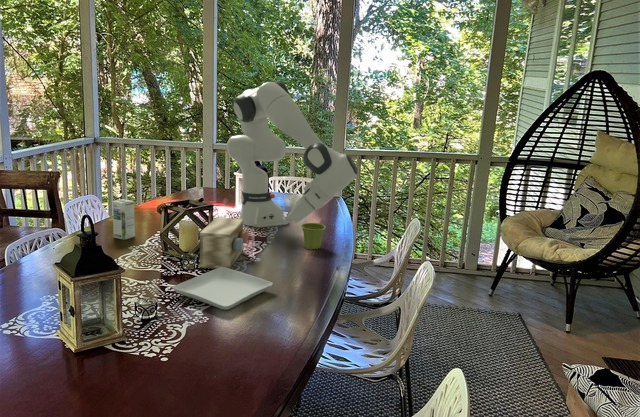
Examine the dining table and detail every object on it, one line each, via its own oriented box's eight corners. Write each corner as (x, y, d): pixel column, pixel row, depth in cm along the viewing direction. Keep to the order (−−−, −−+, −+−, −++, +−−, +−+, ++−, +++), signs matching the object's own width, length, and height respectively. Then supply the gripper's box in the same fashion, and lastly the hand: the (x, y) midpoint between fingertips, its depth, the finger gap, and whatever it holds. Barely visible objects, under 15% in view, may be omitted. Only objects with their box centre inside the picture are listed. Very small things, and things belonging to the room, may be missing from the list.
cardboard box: (199, 267, 162) (199, 232, 159) (216, 248, 182) (216, 217, 179) (229, 269, 162) (229, 234, 159) (242, 250, 181) (243, 219, 178)
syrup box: (113, 237, 187) (111, 201, 184) (125, 234, 193) (123, 198, 189) (123, 240, 185) (122, 203, 182) (135, 236, 190) (134, 200, 187)
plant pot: (327, 246, 192) (329, 224, 190) (319, 252, 184) (321, 230, 182) (305, 242, 195) (306, 221, 193) (296, 249, 187) (297, 227, 185)
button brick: (227, 243, 173) (227, 231, 172) (230, 240, 177) (230, 228, 176) (245, 245, 172) (245, 233, 171) (248, 241, 177) (248, 229, 176)
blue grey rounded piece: (220, 251, 164) (220, 239, 163) (223, 247, 168) (223, 235, 167) (239, 253, 164) (240, 240, 163) (242, 249, 168) (243, 236, 167)
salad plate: (226, 317, 129) (226, 305, 128) (170, 297, 139) (170, 285, 139) (274, 292, 146) (275, 282, 145) (222, 275, 157) (222, 265, 156)
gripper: (312, 181, 169) (283, 207, 172) (306, 193, 149) (274, 222, 152) (324, 195, 170) (295, 220, 173) (320, 208, 150) (287, 236, 153)
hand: (285, 221), depth 162 cm, fingers closed
